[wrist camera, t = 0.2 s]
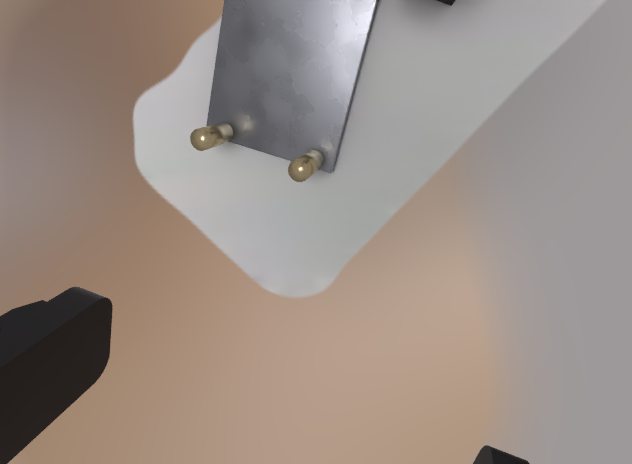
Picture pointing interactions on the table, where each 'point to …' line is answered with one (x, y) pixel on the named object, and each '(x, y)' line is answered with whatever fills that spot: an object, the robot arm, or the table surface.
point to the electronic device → (448, 1)
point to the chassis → (287, 78)
